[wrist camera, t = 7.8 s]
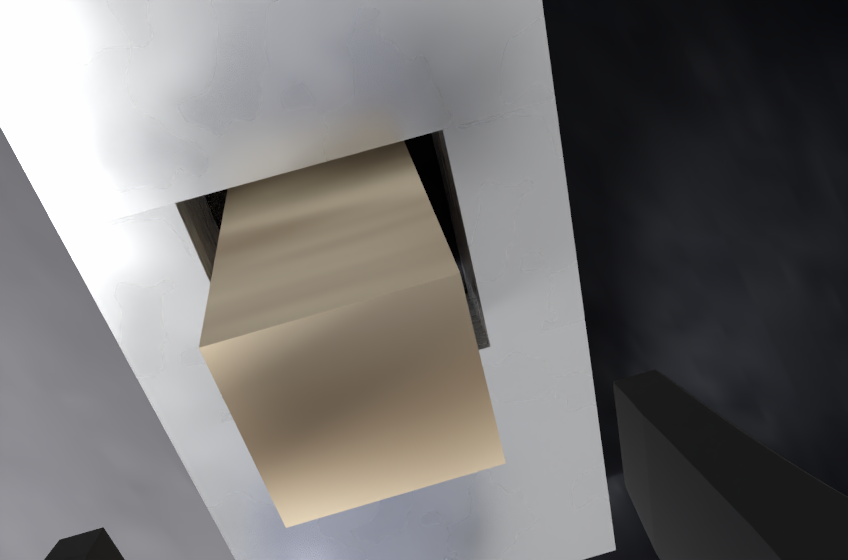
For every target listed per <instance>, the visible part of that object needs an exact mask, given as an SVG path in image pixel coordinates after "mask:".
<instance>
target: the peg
mask: <svg viewBox="0 0 848 560" xmlns="http://www.w3.org/2000/svg"><path fill="white" fill-rule="evenodd" d="M199 350H200V352H201V354H202V356H203V358H204V360H205V362H206V364H207V366H208V368H209V370H210V372H211V374H212V376H213V378H214V381H215V383H216V385H217V387H218V389H219V391H220V393H221V395H222V397H223V399H224V401H225V403H226V405H227V407H228V409H229V411H230V414H231V416H232V418H233V420H234V422H235V424H236V426H237V428H238V430H239V432H240V434H241V436H242V438H243V440H244V442H245V444H246V447H247V449H248V451H249V453H250V455H251V457H252V459H253V461H254V463H255V465H256V467H257V469H258V471H259V473H260V475H261V477H262V480H263V482H264V484H265V486H266V488H267V490H268V492H269V494H270V496H271V498H272V500H273V502H274V504H275V506H276V508H277V510H278V513H279V515H280V517H281V519H282V521H283V523H284V525H285V527H286V528H288V527H291V526H294V525H298V524H301V523H305V522H308V521H311V520H315V519H318V518H322V517H325V516H328V515H332V514H335V513H339V512H342V511H345V510H349V509H352V508H356V507H359V506H362V505H366V504H369V503H373V502H376V501H380V500H383V499H386V498H390V497H393V496H397V495H400V494H403V493H407V492H410V491H414V490H417V489H420V488H424V487H427V486H431V485H434V484H437V483H441V482H444V481H448V480H451V479H454V478H458V477H461V476H465V475H468V474H471V473H475V472H478V471H482V470H485V469H488V468H492V467H495V466H499V465H502V464H505V463H506V462H505V458H504V453H503V449H502V445H501V441H500V437H499V433H498V428H497V424H496V420H495V416H494V412H493V408H492V404H491V399H490V395H489V391H488V387H487V383H486V379H485V374H484V370H483V366H482V362H481V358H480V354H479V349H478V345H477V341H476V337H475V333H474V329H473V324H472V320H471V316H470V312H469V308H468V304H467V300H466V295H465V291H464V287H463V283H462V279H461V275H460V271H459V269H458V267H457V264H456V262H455V260H454V257H453V255H452V253H451V250H450V248H449V246H448V243H447V241H446V239H445V236H444V234H443V232H442V229H441V227H440V224H439V222H438V220H437V217H436V215H435V213H434V210H433V208H432V206H431V203H430V201H429V199H428V196H427V194H426V192H425V189H424V187H423V185H422V182H421V180H420V177H419V175H418V173H417V170H416V168H415V166H414V163H413V161H412V159H411V156H410V154H409V152H408V149H407V147H406V145H405V142H404V140H403V141H400V142H396V143H392V144H389V145H385V146H381V147H378V148H374V149H370V150H367V151H363V152H359V153H356V154H352V155H348V156H345V157H341V158H338V159H334V160H330V161H327V162H323V163H319V164H316V165H312V166H308V167H305V168H301V169H297V170H294V171H290V172H286V173H283V174H279V175H276V176H272V177H268V178H265V179H261V180H257V181H254V182H250V183H246V184H243V185H239V186H235V187H232V188H228V190H227V195H226V201H225V206H224V212H223V217H222V223H221V228H220V234H219V239H218V245H217V250H216V256H215V261H214V267H213V272H212V278H211V283H210V289H209V294H208V299H207V305H206V310H205V316H204V321H203V327H202V332H201V338H200V343H199Z"/></svg>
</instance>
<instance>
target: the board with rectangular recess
mask: <svg viewBox="0 0 848 560" xmlns="http://www.w3.org/2000/svg"><path fill="white" fill-rule="evenodd" d="M0 126H1V128H2V130H3V132H4V134H5V136H6V137H7V139H8V141H9V143H10V145H11V147H12V148H13V150H14V152H15V154H16V156H17V158H18V160H19V161H20V163H21V165H22V167H23V169H24V171H25V172H26V174H27V176H28V178H29V180H30V182H31V184H32V185H33V187H34V189H35V191H36V193H37V195H38V196H39V198H40V200H41V202H42V204H43V206H44V207H45V209H46V211H47V213H48V215H49V217H50V219H51V220H52V222H53V224H54V226H55V228H56V230H57V231H58V233H59V235H60V237H61V239H62V241H63V243H64V244H65V246H66V248H67V250H68V252H69V254H70V255H71V257H72V259H73V261H74V263H75V265H76V266H77V268H78V270H79V272H80V274H81V276H82V278H83V279H84V281H85V283H86V285H87V287H88V289H89V290H90V292H91V294H92V296H93V298H94V300H95V302H96V303H97V305H98V307H99V309H100V311H101V313H102V314H103V316H104V318H105V320H106V322H107V324H108V325H109V327H110V329H111V331H112V333H113V335H114V337H115V338H116V340H117V342H118V344H119V346H120V348H121V349H122V351H123V353H124V355H125V357H126V359H127V361H128V362H129V364H130V366H131V368H132V370H133V372H134V373H135V375H136V377H137V379H138V381H139V383H140V384H141V386H142V388H143V390H144V392H145V394H146V396H147V397H148V399H149V401H150V403H151V405H152V407H153V408H154V410H155V412H156V414H157V416H158V418H159V420H160V421H161V423H162V425H163V427H164V429H165V431H166V432H167V434H168V436H169V438H170V440H171V442H172V443H173V445H174V447H175V449H176V451H177V453H178V455H179V456H180V458H181V460H182V462H183V464H184V466H185V467H186V469H187V471H188V473H189V475H190V477H191V479H192V480H193V482H194V484H195V486H196V488H197V490H198V491H199V493H200V495H201V497H202V499H203V501H204V502H205V504H206V506H207V508H208V510H209V512H210V514H211V515H212V517H213V519H214V521H215V523H216V525H217V526H218V528H219V530H220V532H221V534H222V536H223V538H224V539H225V541H226V543H227V545H228V547H229V549H230V550H231V552H232V554H233V556H234V558H235V560H583V559H587V558H590V557H594V556H597V555H601V554H604V553H607V552H611V551H614V550H616V547H615V540H614V532H613V525H612V517H611V510H610V503H609V495H608V488H607V480H606V473H605V465H604V458H603V450H602V443H601V436H600V428H599V421H598V413H597V406H596V398H595V391H594V384H593V376H592V369H591V361H590V354H589V346H588V339H587V331H586V324H585V317H584V309H583V302H582V294H581V287H580V279H579V272H578V264H577V257H576V250H575V242H574V235H573V227H572V220H571V212H570V205H569V198H568V190H567V183H566V175H565V168H564V160H563V153H562V145H561V138H560V131H559V123H558V116H557V108H556V101H555V93H554V86H553V78H552V71H551V64H550V56H549V49H548V41H547V34H546V26H545V19H544V12H543V4H542V0H0ZM429 133H431V134H432V138H433V143H434V147H435V151H436V156H437V160H438V165H439V169H440V173H441V178H442V182H443V186H444V191H445V195H446V200H447V204H448V208H449V213H450V217H451V221H452V226H453V230H454V235H455V239H456V243H457V248H458V252H459V256H460V261H461V265H462V269H463V274H464V278H465V283H466V287H467V291H468V293H467V294H465V295H466V300H467V304H468V308H469V312H470V316H471V320H472V324H473V329H474V333H475V337H476V341H477V345H478V349H479V354H480V358H481V362H482V366H483V370H484V374H485V379H486V383H487V387H488V391H489V395H490V399H491V404H492V408H493V412H494V416H495V420H496V424H497V428H498V433H499V437H500V441H501V445H502V449H503V453H504V458H505V462H506V463H505V464H502V465H499V466H495V467H492V468H488V469H485V470H482V471H478V472H475V473H471V474H468V475H465V476H461V477H458V478H454V479H451V480H448V481H444V482H441V483H437V484H434V485H431V486H427V487H424V488H420V489H417V490H414V491H410V492H407V493H403V494H400V495H397V496H393V497H390V498H386V499H383V500H380V501H376V502H373V503H369V504H366V505H362V506H359V507H356V508H352V509H349V510H345V511H342V512H339V513H335V514H332V515H328V516H325V517H322V518H318V519H315V520H311V521H308V522H305V523H301V524H298V525H294V526H291V527H288V528H286V527H285V525H284V523H283V521H282V519H281V517H280V515H279V513H278V510H277V508H276V506H275V504H274V502H273V500H272V498H271V496H270V494H269V492H268V490H267V488H266V486H265V484H264V482H263V480H262V477H261V475H260V473H259V471H258V469H257V467H256V465H255V463H254V461H253V459H252V457H251V455H250V453H249V451H248V449H247V447H246V444H245V442H244V440H243V438H242V436H241V434H240V432H239V430H238V428H237V426H236V424H235V422H234V420H233V418H232V416H231V414H230V411H229V409H228V407H227V405H226V403H225V401H224V399H223V397H222V395H221V393H220V391H219V389H218V387H217V385H216V383H215V381H214V378H213V376H212V374H211V372H210V370H209V368H208V366H207V364H206V362H205V360H204V358H203V356H202V354H201V352H200V350H199V343H200V338H201V332H202V327H203V321H204V316H205V310H206V305H207V299H208V294H209V289H210V283H211V278H212V272H213V267H214V261H215V256H216V250H217V245H218V239H219V234H220V231H219V229H218V226H217V224H216V221H215V219H214V217H213V214H212V212H211V209H210V207H209V205H208V202H207V200H206V197H205V195H206V194H210V193H213V192H217V191H221V190H224V189H228V188H232V187H235V186H239V185H243V184H246V183H250V182H254V181H257V180H261V179H265V178H268V177H272V176H276V175H279V174H283V173H286V172H290V171H294V170H297V169H301V168H305V167H308V166H312V165H316V164H319V163H323V162H327V161H330V160H334V159H338V158H341V157H345V156H348V155H352V154H356V153H359V152H363V151H367V150H370V149H374V148H378V147H381V146H385V145H389V144H392V143H396V142H400V141H403V140H407V139H411V138H414V137H418V136H421V135H425V134H429Z"/></svg>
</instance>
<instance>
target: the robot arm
mask: <svg viewBox="0 0 848 560" xmlns="http://www.w3.org/2000/svg"><path fill="white" fill-rule="evenodd" d="M613 388H614V396H615V405H616V413H617V422H618V430H619V439H620V447H621V456H622V464H623V472H624V481H625V487H626V489H627V491H628V493H629V495H630V498H631V500H632V502H633V504H634V507H635V509H636V511H637V513H638V515H639V518H640V520H641V522H642V524H643V526H644V529H645V531H646V533H647V535H648V537H649V539H650V541H651V543H652V546H653V548H654V550H655V552H656V554H657V555H658V557H659V559H660V560H848V497H847V496H846V495H844V494H842V493H840V492H839V491H837V490H835V489H834V488H832V487H830V486H828V485H827V484H825V483H823V482H822V481H820V480H819V479H817V478H815V477H814V476H812V475H810V474H809V473H807V472H805V471H804V470H802V469H801V468H799V467H798V466H796V465H794V464H793V463H791V462H790V461H788V460H787V459H785V458H784V457H782V456H780V455H779V454H777V453H776V452H774V451H773V450H771V449H770V448H768V447H766V446H765V445H763V444H762V443H760V442H759V441H757V440H756V439H754V438H753V437H751V436H750V435H748V434H747V433H745V432H744V431H742V430H741V429H739V428H738V427H736V426H735V425H734V424H732V423H731V422H729V421H728V420H726V419H725V418H723V417H722V416H721V415H719V414H718V413H716V412H715V411H713V410H712V409H711V408H709V407H708V406H706V405H705V404H704V403H702V402H701V401H699V400H698V399H697V398H695V397H694V396H692V395H691V394H690V393H688V392H687V391H685V390H684V389H683V388H681V387H680V386H679V385H677V384H676V383H674V382H673V381H672V380H670V379H669V378H668V377H666V376H665V375H663V374H662V373H660V372H658V371H657V370H652V371H649V372H645V373H642V374H638V375H635V376H631V377H628V378H624V379H621V380H617V381H614V382H613ZM45 560H124V558H123V556H122V555H121V553H120V552H119V550H118V549H117V547H116V546H115V544H114V543H113V541H112V540H111V538H110V537H109V535H108V534H107V532H106V531H105V529H104V528H100V529H96V530H93V531H89V532H86V533H82V534H79V535H75V536H72V537H68V538H65V539H61V540H59V541H58V543H57V544H56V545H55V547H54V548H53V549H52V550H51V552H50V553H49V554H48V556H47V557H46V558H45Z"/></svg>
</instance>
